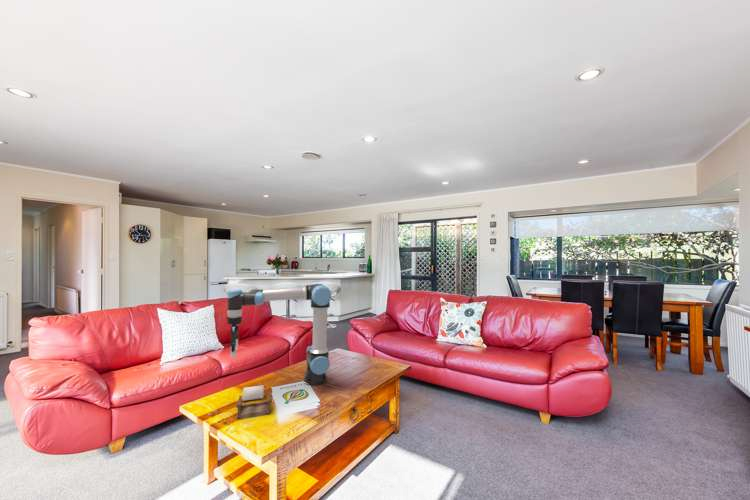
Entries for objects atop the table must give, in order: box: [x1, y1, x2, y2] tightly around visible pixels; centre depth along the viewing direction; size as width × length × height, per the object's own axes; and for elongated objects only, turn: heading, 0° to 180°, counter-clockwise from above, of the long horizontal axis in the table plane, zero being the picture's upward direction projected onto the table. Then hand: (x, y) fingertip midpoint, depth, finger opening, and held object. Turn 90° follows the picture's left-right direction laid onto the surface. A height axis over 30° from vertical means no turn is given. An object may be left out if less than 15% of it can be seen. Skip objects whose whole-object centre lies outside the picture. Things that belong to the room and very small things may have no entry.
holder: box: [235, 392, 273, 420], centre depth 169 cm, size 18×11×7 cm, turn 109°
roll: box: [242, 384, 265, 402], centre depth 183 cm, size 11×7×7 cm, turn 109°
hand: (234, 353), depth 182 cm, fingers open, 13 cm apart
